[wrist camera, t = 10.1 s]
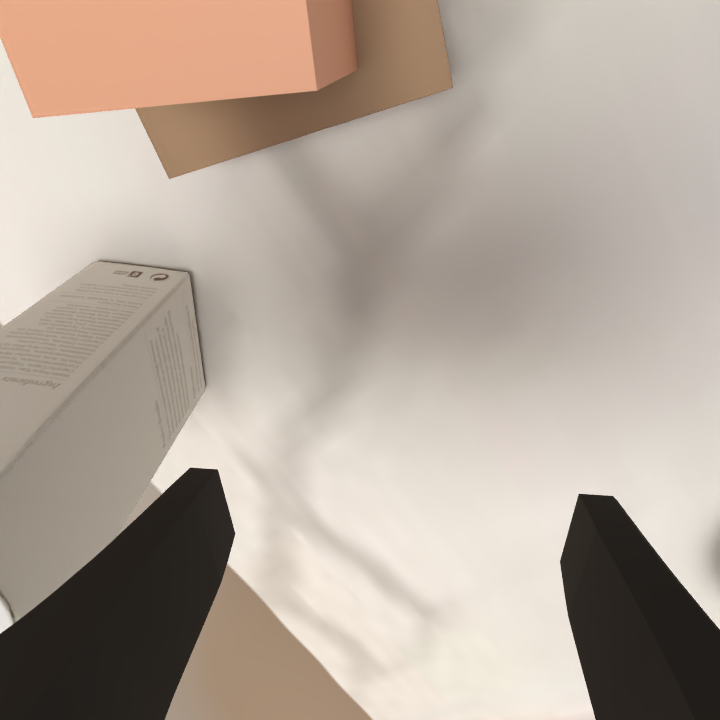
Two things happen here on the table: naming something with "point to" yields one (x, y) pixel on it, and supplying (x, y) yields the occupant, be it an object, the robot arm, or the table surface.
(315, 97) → the walnut block
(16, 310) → the table surface
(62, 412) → the skincare box
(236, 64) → the terracotta cube
